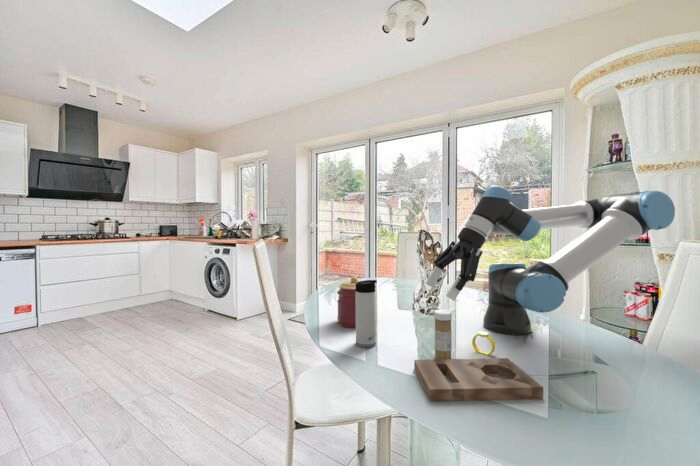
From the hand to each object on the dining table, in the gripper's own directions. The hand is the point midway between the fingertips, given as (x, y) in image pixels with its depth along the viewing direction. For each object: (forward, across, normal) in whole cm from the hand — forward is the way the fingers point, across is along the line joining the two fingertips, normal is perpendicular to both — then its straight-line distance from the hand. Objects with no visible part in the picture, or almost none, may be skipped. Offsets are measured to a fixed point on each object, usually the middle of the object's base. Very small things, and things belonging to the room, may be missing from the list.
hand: (438, 291), depth 93 cm
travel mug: (+26, -3, -9) cm, 28 cm away
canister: (+27, -25, -8) cm, 38 cm away
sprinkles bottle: (+15, +12, +5) cm, 20 cm away
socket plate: (+14, +24, +5) cm, 28 cm away
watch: (+8, +10, +16) cm, 21 cm away
